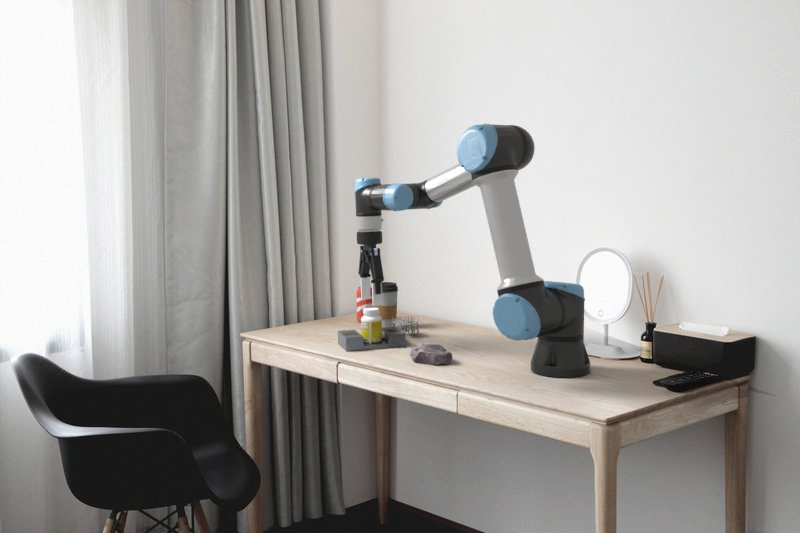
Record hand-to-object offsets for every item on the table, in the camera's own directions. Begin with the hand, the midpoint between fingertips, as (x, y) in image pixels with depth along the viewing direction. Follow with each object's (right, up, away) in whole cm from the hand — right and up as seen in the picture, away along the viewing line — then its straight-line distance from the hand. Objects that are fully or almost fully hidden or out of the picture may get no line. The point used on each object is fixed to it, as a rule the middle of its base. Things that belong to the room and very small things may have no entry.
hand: (371, 302), depth 247 cm
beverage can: (-3, -9, +40) cm, 41 cm away
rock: (+17, -16, -20) cm, 30 cm away
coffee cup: (+4, -10, +27) cm, 29 cm away
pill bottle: (0, -13, +2) cm, 13 cm away
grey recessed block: (0, -13, +2) cm, 13 cm away
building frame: (+11, -12, +15) cm, 22 cm away
